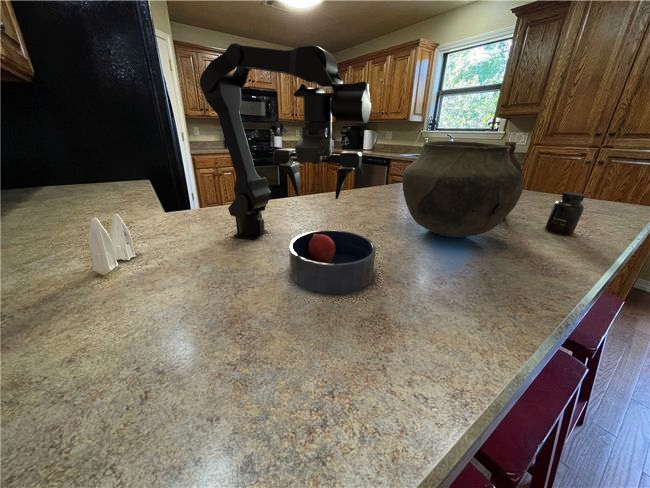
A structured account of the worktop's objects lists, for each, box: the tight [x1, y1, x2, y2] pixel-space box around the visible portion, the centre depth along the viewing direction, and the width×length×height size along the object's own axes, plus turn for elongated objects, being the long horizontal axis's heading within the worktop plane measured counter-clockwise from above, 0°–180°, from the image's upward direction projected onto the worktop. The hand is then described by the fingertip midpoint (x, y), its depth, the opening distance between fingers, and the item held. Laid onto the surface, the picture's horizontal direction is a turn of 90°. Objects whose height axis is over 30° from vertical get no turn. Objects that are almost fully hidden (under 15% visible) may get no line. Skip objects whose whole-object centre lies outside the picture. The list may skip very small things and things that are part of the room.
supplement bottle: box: [544, 191, 586, 237], centre depth 80 cm, size 7×7×12 cm
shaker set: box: [87, 213, 136, 276], centre depth 54 cm, size 12×4×11 cm, turn 9°
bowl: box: [288, 229, 377, 295], centre depth 55 cm, size 17×17×6 cm
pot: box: [401, 140, 525, 238], centre depth 74 cm, size 29×32×25 cm
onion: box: [308, 234, 336, 263], centre depth 58 cm, size 6×6×8 cm
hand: (317, 197), depth 61 cm, fingers open, 9 cm apart
